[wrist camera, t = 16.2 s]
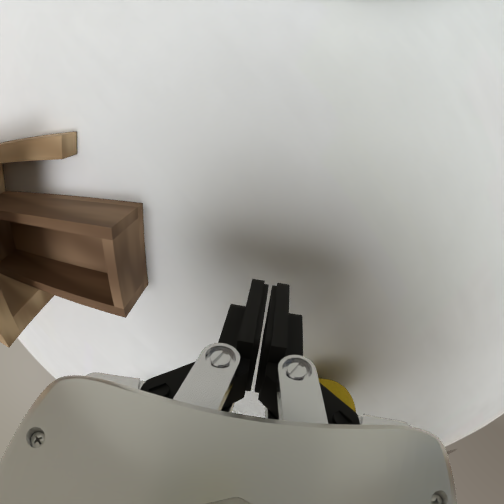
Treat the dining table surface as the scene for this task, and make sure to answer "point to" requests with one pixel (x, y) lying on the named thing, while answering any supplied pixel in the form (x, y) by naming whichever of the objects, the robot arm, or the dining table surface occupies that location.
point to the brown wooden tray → (75, 248)
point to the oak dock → (3, 287)
